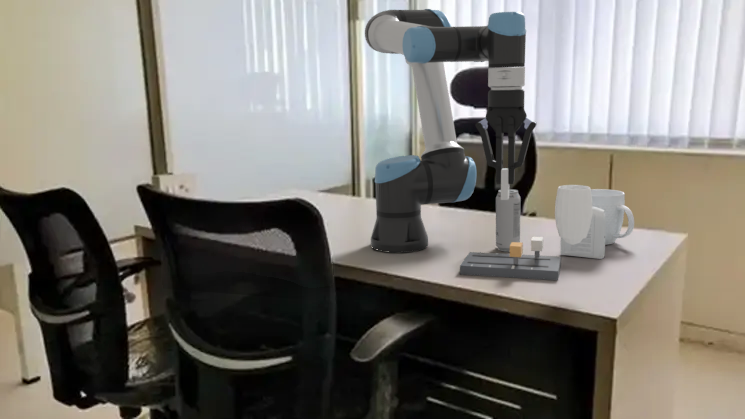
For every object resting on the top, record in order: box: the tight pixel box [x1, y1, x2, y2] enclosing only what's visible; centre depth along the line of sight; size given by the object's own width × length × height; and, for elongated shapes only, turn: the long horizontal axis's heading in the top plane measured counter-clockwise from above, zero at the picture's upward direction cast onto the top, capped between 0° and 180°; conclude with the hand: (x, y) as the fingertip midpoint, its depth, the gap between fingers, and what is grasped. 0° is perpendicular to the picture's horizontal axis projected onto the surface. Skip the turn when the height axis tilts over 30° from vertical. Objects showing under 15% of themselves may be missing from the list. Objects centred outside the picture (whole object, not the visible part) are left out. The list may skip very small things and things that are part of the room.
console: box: [459, 251, 562, 281], centre depth 147 cm, size 21×12×2 cm, turn 71°
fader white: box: [530, 236, 544, 258], centre depth 147 cm, size 2×4×4 cm, turn 162°
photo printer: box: [559, 206, 606, 260], centre depth 155 cm, size 10×4×12 cm, turn 61°
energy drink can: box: [495, 188, 521, 253], centre depth 164 cm, size 6×6×15 cm
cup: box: [554, 184, 592, 245], centre depth 132 cm, size 7×7×21 cm
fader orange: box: [509, 241, 524, 264], centre depth 143 cm, size 2×4×4 cm, turn 161°
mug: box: [591, 188, 635, 246], centre depth 166 cm, size 15×11×13 cm
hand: (505, 198), depth 142 cm, fingers closed
